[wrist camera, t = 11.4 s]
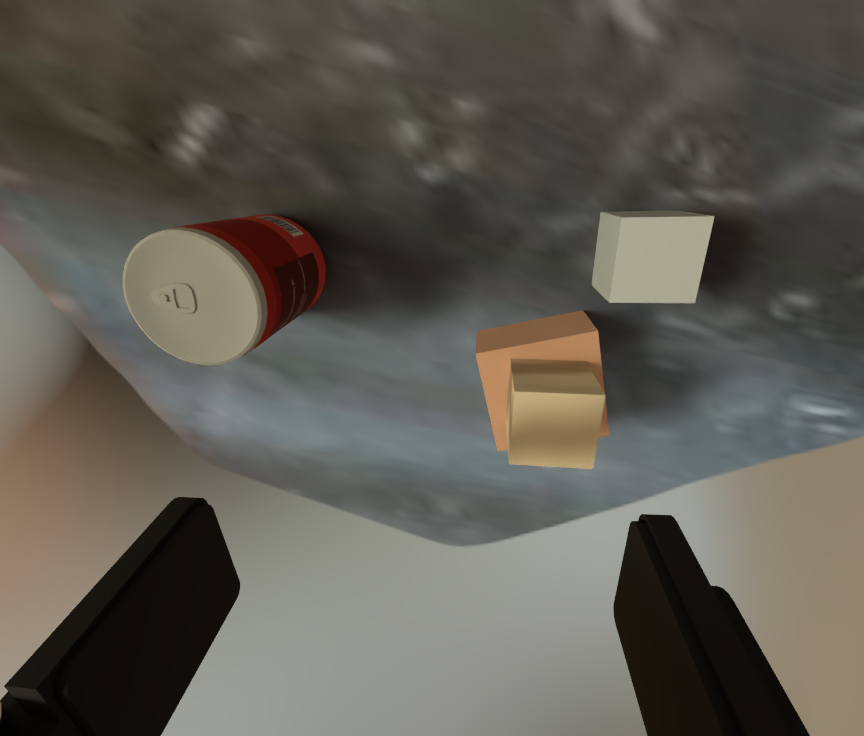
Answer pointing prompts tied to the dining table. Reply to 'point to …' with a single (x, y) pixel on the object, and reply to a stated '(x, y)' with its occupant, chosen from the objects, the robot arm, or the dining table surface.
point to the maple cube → (553, 413)
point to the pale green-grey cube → (650, 256)
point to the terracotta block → (534, 340)
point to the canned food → (222, 285)
